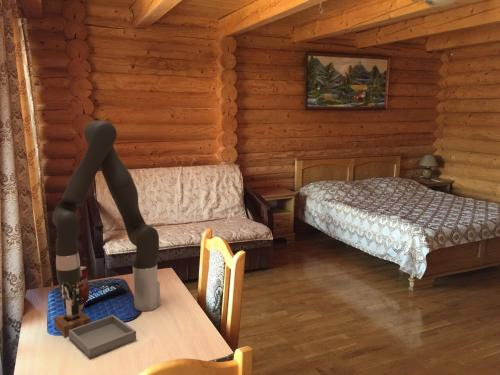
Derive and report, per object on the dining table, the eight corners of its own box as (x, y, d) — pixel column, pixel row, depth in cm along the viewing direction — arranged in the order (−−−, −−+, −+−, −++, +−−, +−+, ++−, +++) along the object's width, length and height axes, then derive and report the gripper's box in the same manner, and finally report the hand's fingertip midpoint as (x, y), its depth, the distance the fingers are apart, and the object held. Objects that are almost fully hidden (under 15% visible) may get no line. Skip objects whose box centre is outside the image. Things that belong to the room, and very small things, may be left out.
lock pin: (76, 324, 153) (73, 289, 151) (80, 328, 150) (78, 293, 148) (64, 328, 150) (61, 293, 148) (69, 332, 147) (66, 296, 145)
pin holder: (79, 319, 156) (79, 309, 156) (90, 328, 150) (89, 317, 149) (54, 328, 150) (53, 317, 149) (64, 337, 144) (63, 326, 143)
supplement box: (77, 313, 161) (74, 274, 158) (65, 312, 162) (63, 273, 159) (90, 304, 169) (87, 266, 166) (79, 302, 170) (76, 265, 167)
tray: (113, 323, 154) (113, 314, 153) (136, 340, 142) (135, 331, 142) (69, 339, 142) (68, 330, 142) (90, 359, 131) (89, 349, 131)
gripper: (87, 268, 144) (90, 314, 147) (70, 258, 154) (73, 301, 157) (65, 274, 138) (68, 321, 141) (49, 263, 148) (52, 307, 151)
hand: (71, 310), depth 149 cm, fingers open, 6 cm apart
